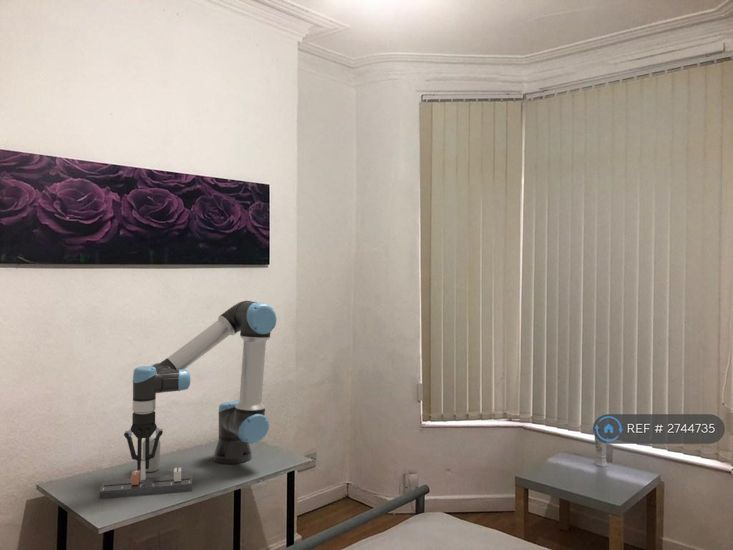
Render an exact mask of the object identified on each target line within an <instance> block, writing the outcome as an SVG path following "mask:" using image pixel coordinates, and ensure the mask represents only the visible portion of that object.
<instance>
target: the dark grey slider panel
mask: <svg viewBox="0 0 733 550" xmlns="http://www.w3.org/2000/svg"><path fill="white" fill-rule="evenodd" d="M181 492H182V493H183V492H185V493H186V492H193V473H188V474H187V473H186V474H181V481H176V482H174V474H173V475H172V474H171V475H161V476H149V477H147V476H146V477H145V480H141V477H140V481H139V485H131V478H124V479H123V478H122V479H110V480H109V479H108V480H103V481H102V484H101V486H100V489H99V493H98V494H99V495H98V497H99V500H100V499H113V498H126V497H135V496H136V497H139V496H149V495H150V496H151V495H160V494H172V493H181Z"/></svg>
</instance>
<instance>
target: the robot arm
mask: <svg viewBox="0 0 733 550" xmlns="http://www.w3.org/2000/svg"><path fill="white" fill-rule="evenodd" d="M276 325H277V314H276V312H275V309H274V308H273V307H271V305H269V304H267V303H264V302H261V301H252V300H244V301H243V300H241V301H238V303H236V304H234V305H233V306H231V307H230V308H228V309H227V310H225V311H224V312H223V313H222V314H220V315H219V316H218V317H217V320H216V321H214V322H213V323H212V324H211V325H209V326H208V327H207V328H205V329H204V330H203V331H201V332H200V333H198V334H197V335H196V336H195V337H194V338H192V339H190V341H188V342H186V343H185V344H184V345H183V346H181V347H180V348H178V350H176V351H175V352H174V353H172V354H170V355H169V356H168V357H166V358H165V359H164V360H162V361H160V362H157V363H153V364H151V365H150V366H149V365H148V366H145V365H144V366H138V367H135V368H134V369H133V375H132V417H131V420H132V425H131V427H130V428H129V429H128V430H126V431H125V432H124V434H123V437H125V438H126V440H127V441H126V442H127V443H128V448H129V452H130V457H131V460H135V461H136V462H137V465H136V466H137V471H140V478H141V480H145V478H146V477H147V476H146V473H147V472H146V469H148V468H149V460H150V459H151V458H154V456H155V452H156V449H157V445H158V441H159V440H160V438H161V436H162V435H163V433H164V432H163V431H164V430H163V429H162V428H158V426H157V424H156V411H155V410H156V395H157V394H162V393H169V392H170V393H171V392H180V391H185V390H188V389H190V386H191V374H190V371H189V370H188V369H187V368H189V366H191V365H192V364H194V363H195V362H197V360H198V359H200V358H201V357H203V356H204V355H205V354H207V353H208V352H209V351H211V350H212V349H213V348H215V347H216V346H217V345H219V344H220V343H222V341H223V340H225V339H226V338H228V337H229V336H235V335H236V334H237V333H239V332H240V335H239V336H240V338H241V339H242V340H243V345H242V346H243V347H242V361H241V375H240V390H239V400H232V401H225V402H222V403H220V404H219V405H218V440H217V443H216V446H215V449H214V453H213V460H214V462H216V463H219V464H226V465H236V464H242V463H245V462H248V461H249V460H251V459H252V457H253V454H252V453H253V452H252V448H251V445H250V444H257V443H259V442H261V441H262V440H263V439H264V438H265V437H266V436H267V434H268V432H269V429H270V421H269V420H268V418H267V416H265V415H266V413H265V412H266V406H265V405H264V403H263V402H262V399H263V386H264V375H265V374H264V372H265V361H266V360H265V357H266V345H267V344H266V343H267V341H269V340H270V338H271V332H272V331H273V330H274V329H275V327H276ZM154 433H155V434H154ZM153 434H154V435H155V437H156V438H155V442H154V446H153V449H152V453H151V454H149V444H150V437H152V435H153ZM132 435H134V436H135V438H137V448H136V450H137V454H136V450H135V445H134V441H133V438H132ZM143 439H145V459H143Z"/></svg>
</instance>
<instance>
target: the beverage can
mask: <svg viewBox="0 0 733 550" xmlns="http://www.w3.org/2000/svg"><path fill="white" fill-rule="evenodd" d="M155 438H156V436H151V437H150V444H149V454H151V453H152V449H153V446H154V442H155ZM142 459H145V438H143V441H142ZM159 469H161V440H160V439H159V441H158V445H157V449H156V452H155V456H154V458H151V459H150V460H149V468H148V469H146V473H153V472H156V471H159Z"/></svg>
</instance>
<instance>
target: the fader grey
mask: <svg viewBox="0 0 733 550" xmlns="http://www.w3.org/2000/svg"><path fill="white" fill-rule="evenodd" d="M173 475H174V482H176V481H181V475H182V467H178V466H177V467H174V468H173Z"/></svg>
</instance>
